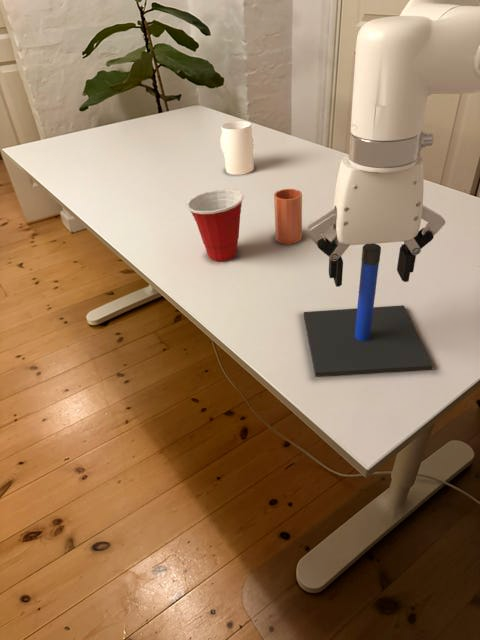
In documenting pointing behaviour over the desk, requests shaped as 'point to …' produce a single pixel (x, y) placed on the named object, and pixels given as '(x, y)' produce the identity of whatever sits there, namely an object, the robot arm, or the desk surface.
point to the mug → (237, 147)
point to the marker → (367, 290)
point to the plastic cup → (218, 221)
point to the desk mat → (364, 343)
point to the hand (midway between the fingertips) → (369, 278)
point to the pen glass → (288, 215)
